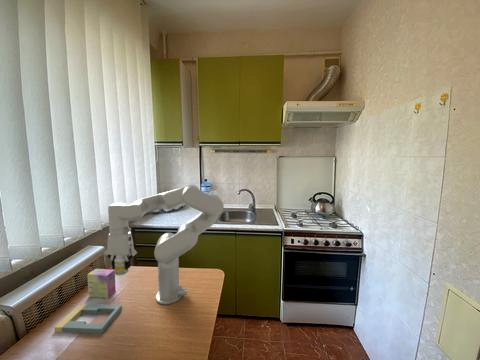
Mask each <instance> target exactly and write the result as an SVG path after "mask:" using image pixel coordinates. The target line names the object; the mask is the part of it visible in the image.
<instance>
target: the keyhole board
mask: <svg viewBox="0 0 480 360" xmlns="http://www.w3.org/2000/svg"><path fill="white" fill-rule="evenodd" d="M122 305H123V304H121V305H120V304H97V303H96V304H93V303H91V304H90V303H88V304H87V303H80V304H78V306H76V308H75V309H73V310H72V311H71V312H69V314H67V316H65V317H64V318H63V319H62V320H61V321H60V322H59V323H57V324H56V325H55V326H54V327H53V329H54V333H71V334H75V333H77V334H78V333H79V334H97V335H98V334H99V335H101V334H103V333H104V332H105V331H106V329H107V328H108V327H109V326H110V325H111V323H112V322H113V321H114V320H115V319H116V318H117V316H118V315H119V314H120V313H121V311H122V310H123V307H122ZM99 313H101V314H102V313H103V314H104V313H105V314H109V315H108V317H106V319H105V320H104V321H103V322H102V323H87V322H86V320H77V319H78V318H79V317H80V316H82V315H98V314H99Z"/></svg>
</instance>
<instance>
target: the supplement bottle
mask: <svg viewBox="0 0 480 360" xmlns="http://www.w3.org/2000/svg"><path fill="white" fill-rule="evenodd" d="M125 261H126V260H125V257H124V256H122V255H116V258H115V260H114V262H115V269H114V270H115V276H117V277H118V276H119V277H120V276H124V275H126V274H128V272H129V268H128V269H127V270H125Z"/></svg>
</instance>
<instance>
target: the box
mask: <svg viewBox="0 0 480 360" xmlns="http://www.w3.org/2000/svg"><path fill="white" fill-rule="evenodd" d="M116 289H117V287H116V274H115V269H108V268H107V269H106V268H95V269H93V270H92V271H90V272H89V273H87V290H88V297H91V298H100V299H109V298H110V297H111V296H112V295H114V294H115V293H116Z"/></svg>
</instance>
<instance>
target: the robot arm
mask: <svg viewBox="0 0 480 360" xmlns="http://www.w3.org/2000/svg"><path fill="white" fill-rule="evenodd" d="M182 206H188V207H190V208H192V209H194V210H197V211H198V212H200V213H199V214H197V215H195V216H194V217H192V218H191V219H189V220H188V221H185V222H184V223H182V224H181V225H179V227H178V229H177V232H176V233H175V234H174V233H172V232H165V233H164V234H162V235H161V236H160V237H159V238H158V240H157V243H156V245H155V248H154V252H153V254H154V255H153V256H154V258H155V260H156V261H157V272H158V273H157V274H158V292H156V295H155V301H156V302H157V303H158V304H159V305H160V304H161V305H170V304H173V303H176V302H178V301H179V300H180V299H181V298H182V296H185V295H186V296H187V295H188V293H189V291H188V290H187V287H182V283H180V267H179V266H180V265H179V263H180V261H179V260H180V259H179V257H180V256H183V255H184V254H186V252H188V251H190V250H191V249H192V248H193V247H195V245H196V244H197V242H198V240H199V239H198V238H199V235H202V233H204V232H205V231H206V230H208V229H210V228H211V227H212V226H213V225H214V224H215V223H216V221H217V220H218V218H219V216H220V215H221V214H222V213H223V211H224V208H225V207H224V203H223V200H222V199H221V197H220V196H219V195H218V194H208V193H206V192H204V191H202V190H200V188H199V187H198V186H197V185H195V184H190V185H186V186H182V187H179V188H176V189H171V190H169V191H165V192H161V193H158V194H154V195H150V196H147V197H143V198H139V199H137V200H135V201H133V202H132V203H130V204H127V203H124V202H115V203H111V204H109V205H108V206H107V207H108V208H107V211H108V213H107V214H108V228H109V233H108V237H107V248H106V249H105V251H104V252H103V253H104V255H106V257H107V258H108V259H109V261H110V262H111V267H112V268H111V270H115V262H114V260H115V258H116V255H122V256H124V257H125V260H126V261H125V270H127V269H128V270H129V268H131V264H132V261H131V259H132V258H133V257H134V256H135V255H137V254H138V251H136V249H135V247H134V240H133V236H132V235H133V234H132V232H131V231H132V228H131V227H130V225H129V221H131V222H132V221H139V220H140V219H142V217H144V215H145V214H147V213H150V212H154V211H158V210H168V211H169V210H174V209H177V208H179V207H182Z"/></svg>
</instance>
